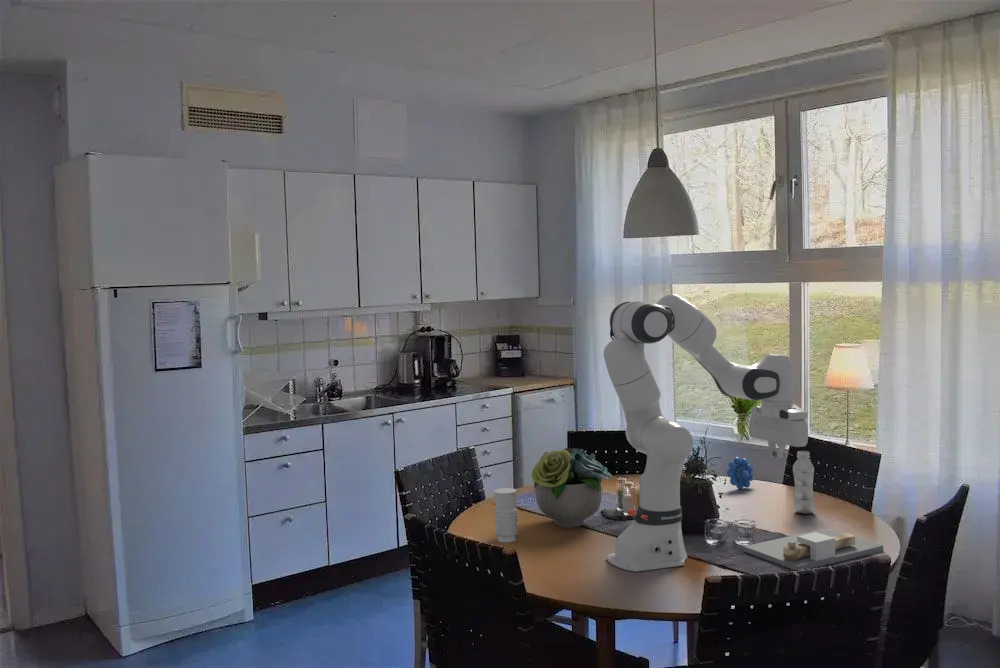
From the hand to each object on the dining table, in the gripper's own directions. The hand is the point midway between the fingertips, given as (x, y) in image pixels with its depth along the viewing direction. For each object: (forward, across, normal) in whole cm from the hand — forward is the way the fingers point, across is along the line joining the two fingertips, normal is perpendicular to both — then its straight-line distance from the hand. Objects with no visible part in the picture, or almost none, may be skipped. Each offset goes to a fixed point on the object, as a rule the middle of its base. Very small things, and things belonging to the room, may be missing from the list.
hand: (776, 457), depth 245 cm
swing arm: (+22, +17, -1) cm, 28 cm away
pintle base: (+24, +12, +2) cm, 27 cm away
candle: (+27, -44, -66) cm, 83 cm away
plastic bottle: (+24, -17, +29) cm, 41 cm away
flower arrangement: (+26, -47, -42) cm, 68 cm away
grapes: (+24, -51, +33) cm, 66 cm away
